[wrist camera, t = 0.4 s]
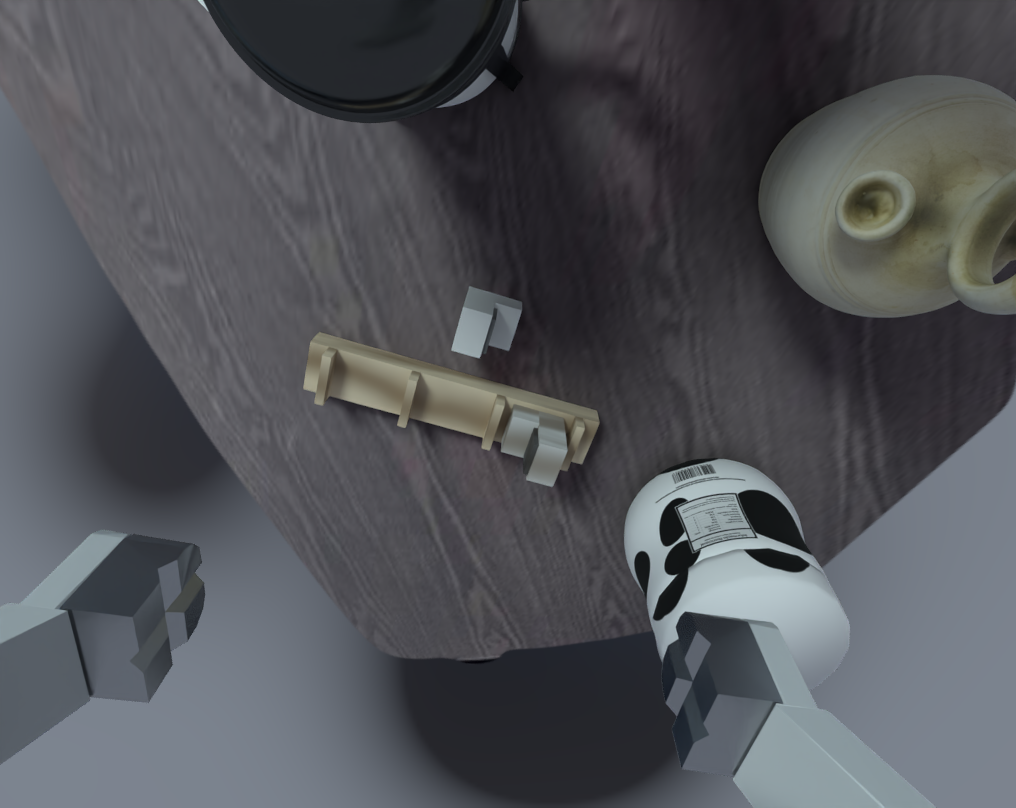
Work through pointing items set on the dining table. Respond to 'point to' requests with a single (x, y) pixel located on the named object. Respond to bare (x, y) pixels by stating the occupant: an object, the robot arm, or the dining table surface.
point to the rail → (454, 403)
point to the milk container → (732, 560)
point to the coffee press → (373, 51)
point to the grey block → (486, 322)
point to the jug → (899, 199)
